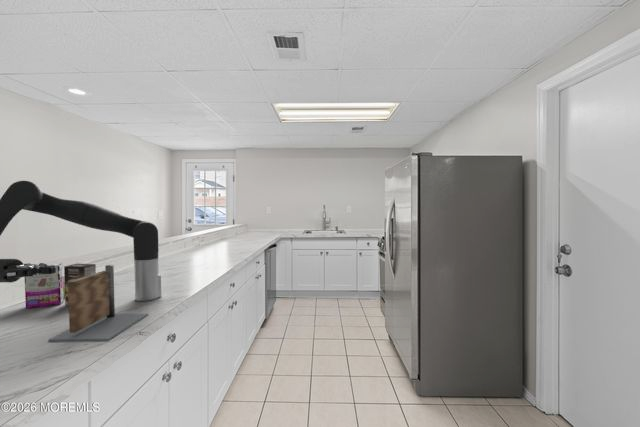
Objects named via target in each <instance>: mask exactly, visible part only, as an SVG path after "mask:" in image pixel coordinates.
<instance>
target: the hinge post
mask: <svg viewBox="0 0 640 427" xmlns="http://www.w3.org/2000/svg"><path fill="white" fill-rule="evenodd" d="M104 268H105V270H104V271H109V274H110V275H109V307H110V315H108V316H107V318H111V317H114V316H115V314H116V313H115V312H116V310H115V304H116V303H115V276H114V275H115V274H114V264H106V265H105V266H104Z"/></svg>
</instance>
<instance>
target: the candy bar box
mask: <svg viewBox="0 0 640 427" xmlns="http://www.w3.org/2000/svg"><path fill="white" fill-rule="evenodd" d="M47 265H48V266H55V267H56V272H55V273H53V274H40V275H33V276H30V277H24V292H25V294H24V296H25V309H26V310H27V309H28V310H29V309H34V308H42V307H52V306H58V305H62V304H63V303H64V302H65V298H63V277H62V275H63V263H49V264H47Z"/></svg>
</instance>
